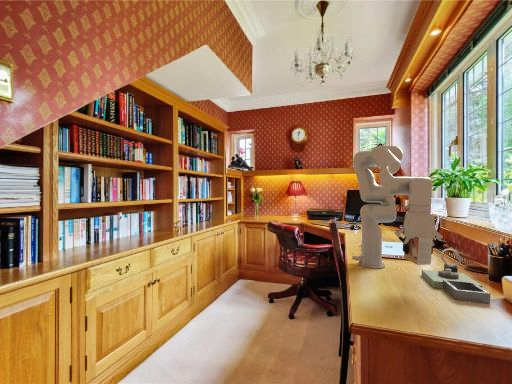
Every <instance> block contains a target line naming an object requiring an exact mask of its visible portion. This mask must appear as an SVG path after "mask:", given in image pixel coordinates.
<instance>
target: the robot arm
mask: <svg viewBox="0 0 512 384" xmlns="http://www.w3.org/2000/svg"><path fill="white" fill-rule="evenodd" d="M403 156H404V152H403V150H402V148H401V147H400V146H398V145H377V146H374V147H373V148H372V149H371V150H362V151H357V152H355V154H354V156H353V159H352V167H353V171H354V173H355V175H356V177H357V182H358V183H357V184H358V189H359V196H360V199H361V201H363V202H365V203H368V204H363V206H361V208H360V210H359V214H360V220H361V254H360V255H352V260H355V261H358V262H357V263H358V265H359V266H361V267H364V268H369V269H384V268H385V267H386V263H384V262H383V261H382V260H383V258H382V257H383V255H382V254H383V252H382V251H383V231H382V228H381V227H380V225H379V223H380V224H381V223H393V222H394V221H396V219H397V206H396V201H395V198H394V196H408V199H407V201H408V203H407V205H404V206H403V209H404V210H407V211H406V212H405V215H404V220H403V227H401V228H400V229H398V230H396V231H395V232H394V234H395V236H396V237H397V238H398V240H400V241H401V242H402V252H403V254H404V253H405V254H408V241H409V240H410V239H414V238H415V236H420V237H432V253H431V255H433V254H434V246H435V245H436V244H438V243H439V242H440V240H442V239H443V237H444V236H443V235H442V234H441V233H440V232H439V231H437V230H436V223H435V216H434V213H432V198H433V197H432V195H433V194H432V193H433V180H432V178H430V177H427V176H426V177H423V176H422V177H419V176H418V177H415V176H393V175H394V174H396V173H397V172H398V171H399V170H400V169H401V165H402V164H401V161H402V159H403ZM369 168H378V169H379V170H380V171H379V174H378V180H379V184H378V183H377V182H376V179H375V178H376V177H375V175H374V174H373V172H372V170H370V169H369ZM401 234H402V235H403V236H404V237H403V236H402V235H401Z"/></svg>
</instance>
